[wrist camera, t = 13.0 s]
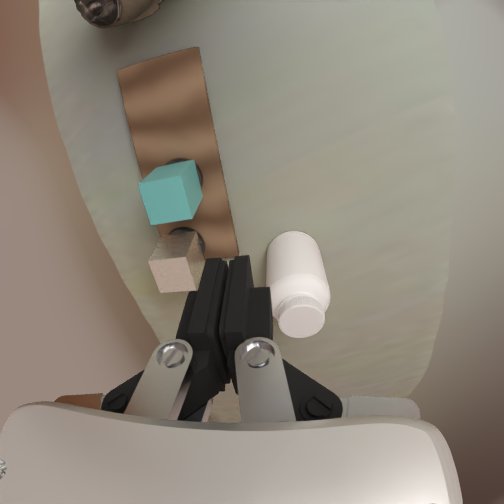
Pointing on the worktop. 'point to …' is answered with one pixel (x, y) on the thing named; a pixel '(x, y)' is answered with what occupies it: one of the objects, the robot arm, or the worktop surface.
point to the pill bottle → (297, 284)
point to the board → (180, 137)
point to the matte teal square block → (171, 192)
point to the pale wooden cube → (178, 260)
